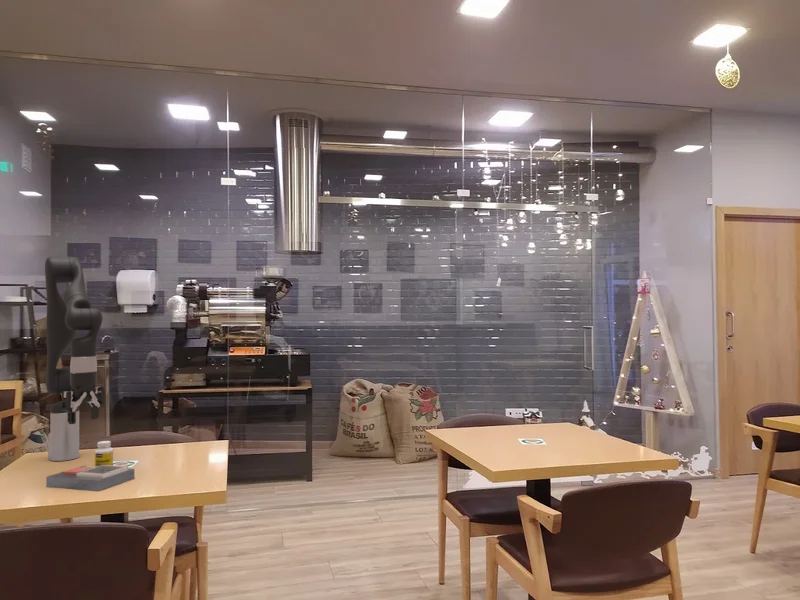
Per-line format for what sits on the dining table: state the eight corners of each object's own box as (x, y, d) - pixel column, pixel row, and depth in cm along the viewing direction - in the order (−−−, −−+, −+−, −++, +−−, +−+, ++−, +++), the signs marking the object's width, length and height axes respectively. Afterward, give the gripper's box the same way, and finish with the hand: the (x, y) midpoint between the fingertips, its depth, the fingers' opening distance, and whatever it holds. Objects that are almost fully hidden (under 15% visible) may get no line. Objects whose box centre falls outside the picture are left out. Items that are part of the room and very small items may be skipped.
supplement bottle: (92, 474, 186) (92, 444, 187) (97, 470, 192) (97, 440, 192) (111, 472, 188) (111, 442, 188) (114, 468, 193) (114, 439, 194)
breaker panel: (46, 486, 173) (46, 472, 173) (84, 474, 186) (84, 461, 186) (98, 491, 167) (98, 476, 167) (134, 478, 180) (134, 465, 180)
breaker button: (64, 482, 176) (64, 471, 176) (77, 478, 181) (77, 467, 181) (76, 483, 175) (76, 472, 175) (90, 479, 180) (90, 468, 180)
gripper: (92, 368, 190) (92, 417, 190) (55, 372, 177) (54, 425, 176) (110, 368, 188) (110, 418, 187) (73, 372, 174) (73, 426, 174)
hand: (83, 421), depth 182 cm, fingers open, 8 cm apart
